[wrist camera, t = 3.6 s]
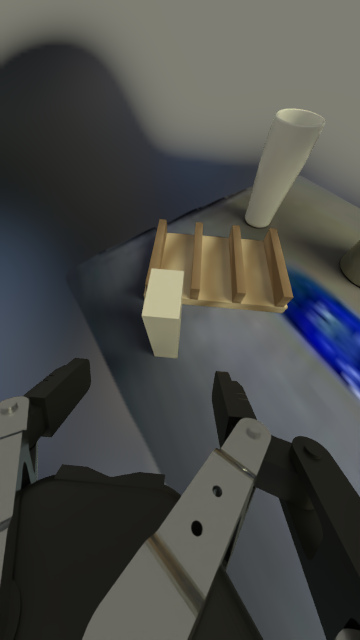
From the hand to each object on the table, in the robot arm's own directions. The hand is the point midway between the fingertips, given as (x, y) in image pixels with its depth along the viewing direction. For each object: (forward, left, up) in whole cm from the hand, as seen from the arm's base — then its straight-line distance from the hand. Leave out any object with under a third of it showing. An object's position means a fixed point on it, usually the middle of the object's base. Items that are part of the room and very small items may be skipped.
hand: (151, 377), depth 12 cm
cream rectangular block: (0, -7, -12) cm, 14 cm away
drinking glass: (-15, -35, -12) cm, 40 cm away
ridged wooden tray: (-6, -20, -12) cm, 24 cm away
